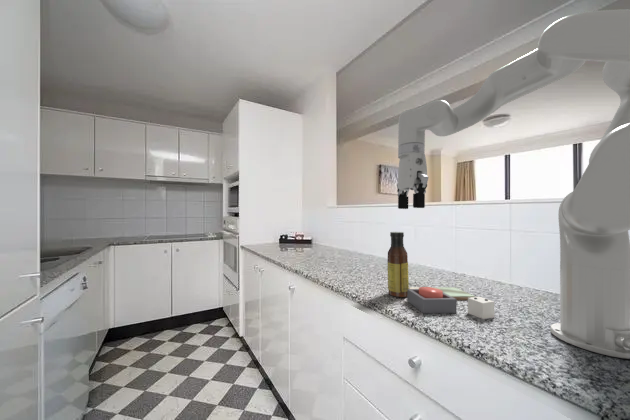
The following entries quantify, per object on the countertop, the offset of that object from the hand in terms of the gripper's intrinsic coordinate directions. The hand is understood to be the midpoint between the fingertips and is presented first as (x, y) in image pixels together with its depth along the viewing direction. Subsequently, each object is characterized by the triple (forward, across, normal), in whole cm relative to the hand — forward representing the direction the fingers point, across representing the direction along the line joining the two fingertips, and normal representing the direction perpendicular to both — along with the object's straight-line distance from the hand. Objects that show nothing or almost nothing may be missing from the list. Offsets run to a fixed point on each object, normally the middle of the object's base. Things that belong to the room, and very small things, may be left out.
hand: (410, 208), depth 74 cm
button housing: (+27, -6, -3) cm, 28 cm away
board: (+27, +4, -12) cm, 30 cm away
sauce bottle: (+28, +4, +2) cm, 28 cm away
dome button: (+26, -6, -3) cm, 27 cm away
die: (+28, -12, -13) cm, 33 cm away
